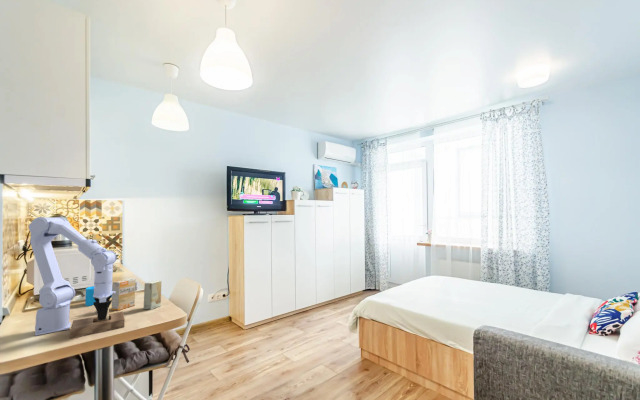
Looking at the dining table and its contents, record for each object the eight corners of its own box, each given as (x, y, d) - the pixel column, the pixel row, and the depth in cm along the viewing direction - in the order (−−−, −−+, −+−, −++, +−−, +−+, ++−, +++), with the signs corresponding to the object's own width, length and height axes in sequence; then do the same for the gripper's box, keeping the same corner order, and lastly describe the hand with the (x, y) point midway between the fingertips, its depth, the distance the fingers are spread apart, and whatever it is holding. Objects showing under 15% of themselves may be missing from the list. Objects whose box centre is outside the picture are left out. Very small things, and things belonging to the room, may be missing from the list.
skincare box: (150, 310, 129) (151, 283, 130) (143, 309, 130) (143, 283, 131) (161, 305, 135) (162, 280, 136) (153, 305, 136) (154, 280, 137)
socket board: (69, 338, 99) (70, 329, 99) (72, 328, 108) (73, 320, 109) (124, 327, 109) (124, 319, 109) (122, 318, 118) (123, 311, 118)
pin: (97, 327, 107) (98, 306, 107) (96, 325, 110) (97, 304, 110) (109, 325, 109) (109, 304, 110) (107, 322, 112) (108, 302, 113)
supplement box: (118, 311, 128) (119, 282, 129) (111, 310, 130) (112, 281, 131) (135, 305, 136) (136, 278, 137) (128, 304, 138) (129, 278, 139)
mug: (87, 307, 135) (88, 290, 136) (83, 304, 140) (83, 287, 141) (116, 300, 145) (117, 285, 145) (111, 298, 150) (111, 283, 150)
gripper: (116, 283, 107) (115, 319, 106) (115, 277, 119) (114, 309, 118) (92, 286, 103) (91, 324, 102) (94, 280, 114) (92, 313, 113)
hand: (102, 316), depth 110 cm, fingers open, 7 cm apart
